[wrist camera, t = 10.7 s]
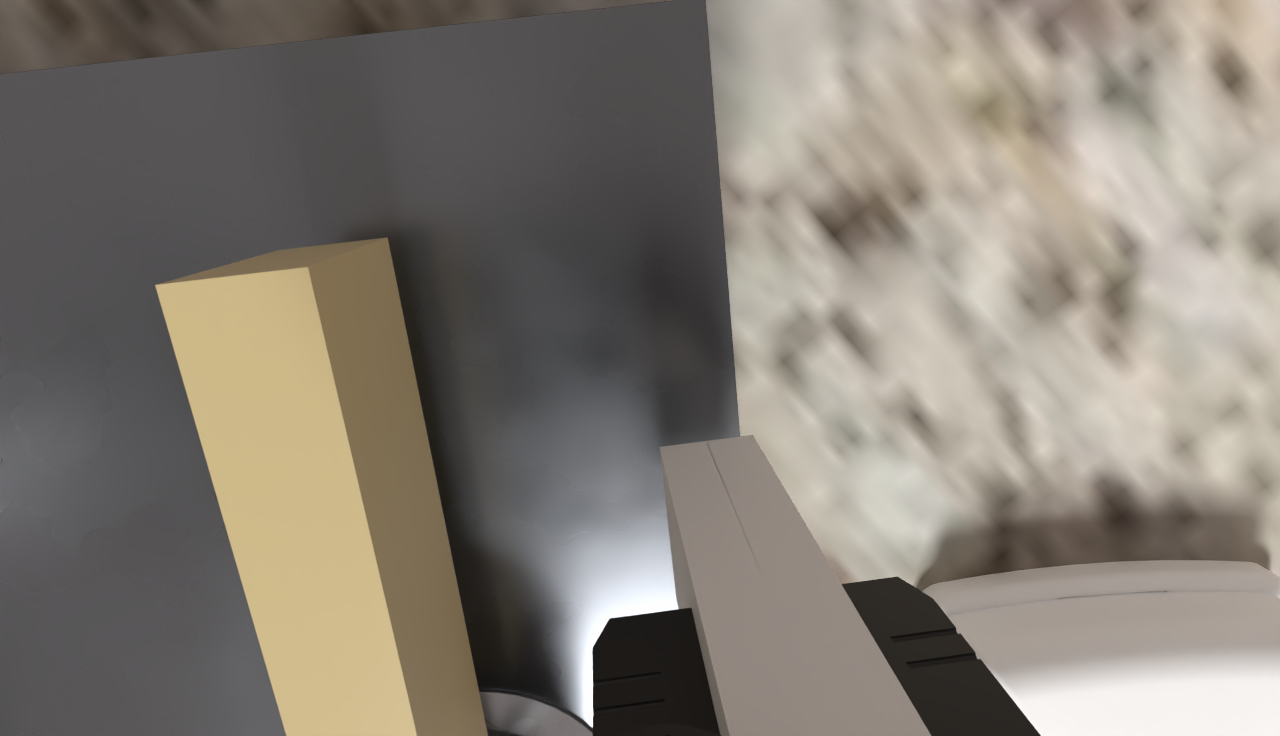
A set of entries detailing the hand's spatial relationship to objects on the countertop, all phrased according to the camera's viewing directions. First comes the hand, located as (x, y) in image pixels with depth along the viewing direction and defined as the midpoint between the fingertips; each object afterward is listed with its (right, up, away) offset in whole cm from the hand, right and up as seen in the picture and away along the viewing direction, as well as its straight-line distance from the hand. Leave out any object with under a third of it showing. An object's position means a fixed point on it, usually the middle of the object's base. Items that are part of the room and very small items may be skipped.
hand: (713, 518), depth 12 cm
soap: (+9, -5, +7) cm, 13 cm away
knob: (-5, -2, +2) cm, 6 cm away
